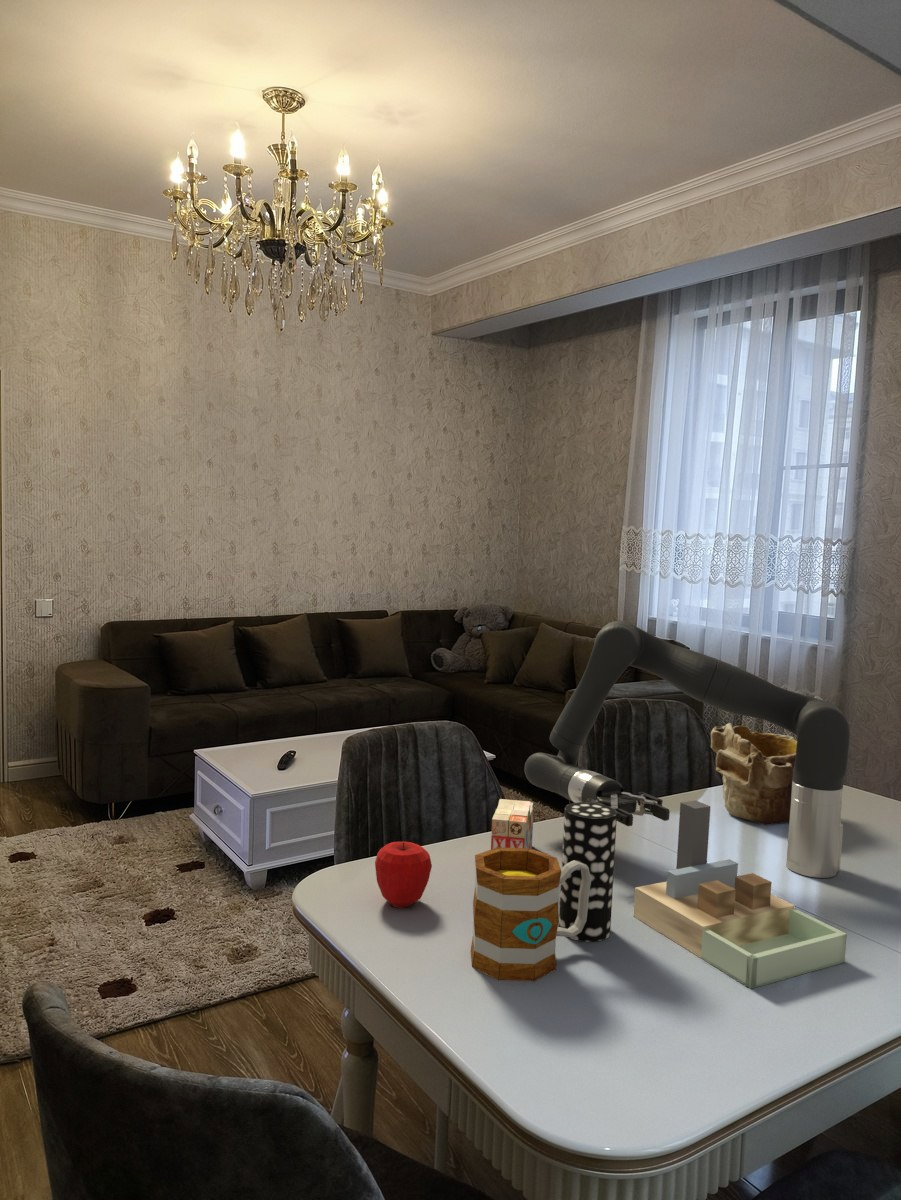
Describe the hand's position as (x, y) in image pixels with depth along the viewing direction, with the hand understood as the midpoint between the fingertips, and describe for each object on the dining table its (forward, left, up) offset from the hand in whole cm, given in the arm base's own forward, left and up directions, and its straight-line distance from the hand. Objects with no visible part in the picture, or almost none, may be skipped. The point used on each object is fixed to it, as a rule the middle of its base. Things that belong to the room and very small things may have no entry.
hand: (649, 818), depth 162 cm
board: (0, +17, -13) cm, 21 cm away
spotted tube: (+21, +10, -13) cm, 27 cm away
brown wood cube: (-4, +21, -8) cm, 23 cm away
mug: (+34, +14, -13) cm, 39 cm away
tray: (0, +30, -13) cm, 32 cm away
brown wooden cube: (+4, +21, -8) cm, 23 cm away
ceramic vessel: (-53, -21, -13) cm, 59 cm away
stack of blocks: (+17, -20, -13) cm, 29 cm away
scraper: (0, +11, -8) cm, 14 cm away
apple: (+44, -11, -13) cm, 47 cm away
